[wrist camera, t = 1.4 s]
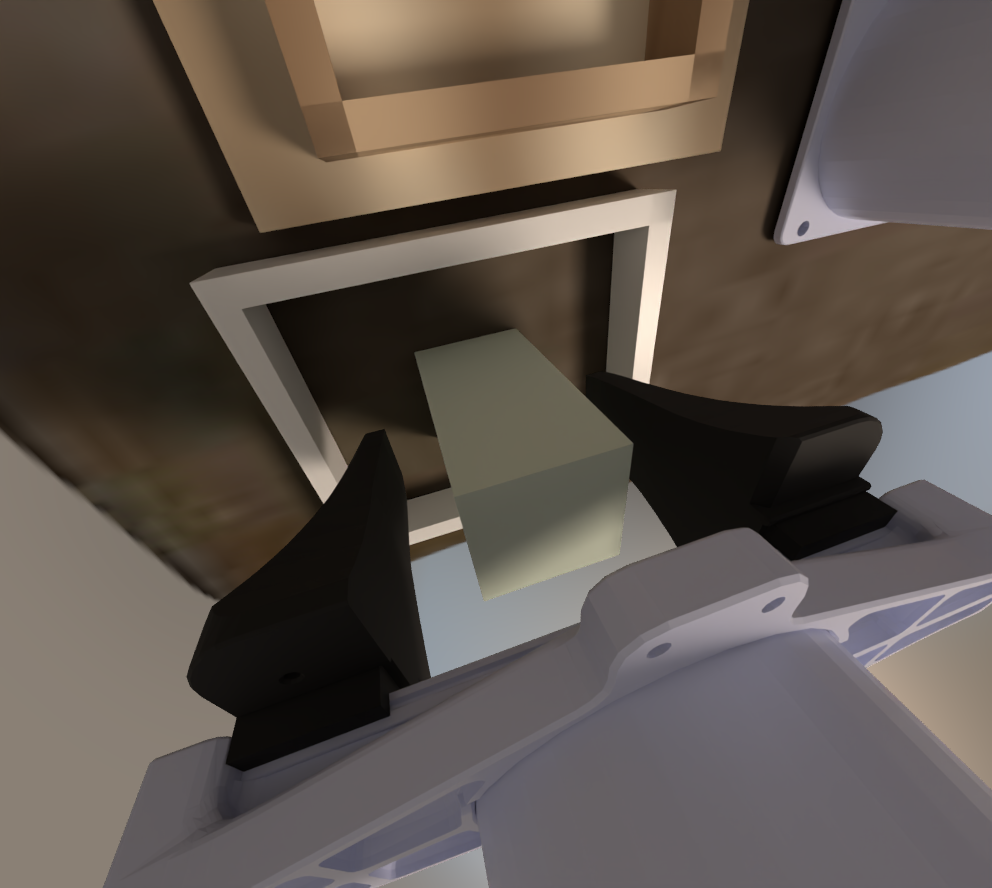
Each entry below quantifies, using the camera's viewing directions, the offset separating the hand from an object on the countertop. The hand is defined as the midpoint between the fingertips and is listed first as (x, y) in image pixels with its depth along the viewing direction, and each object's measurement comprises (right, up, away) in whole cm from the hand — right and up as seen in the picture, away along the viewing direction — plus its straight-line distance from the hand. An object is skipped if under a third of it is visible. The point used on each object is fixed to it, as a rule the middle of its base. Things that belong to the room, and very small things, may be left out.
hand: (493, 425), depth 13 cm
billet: (-1, +2, +2) cm, 3 cm away
